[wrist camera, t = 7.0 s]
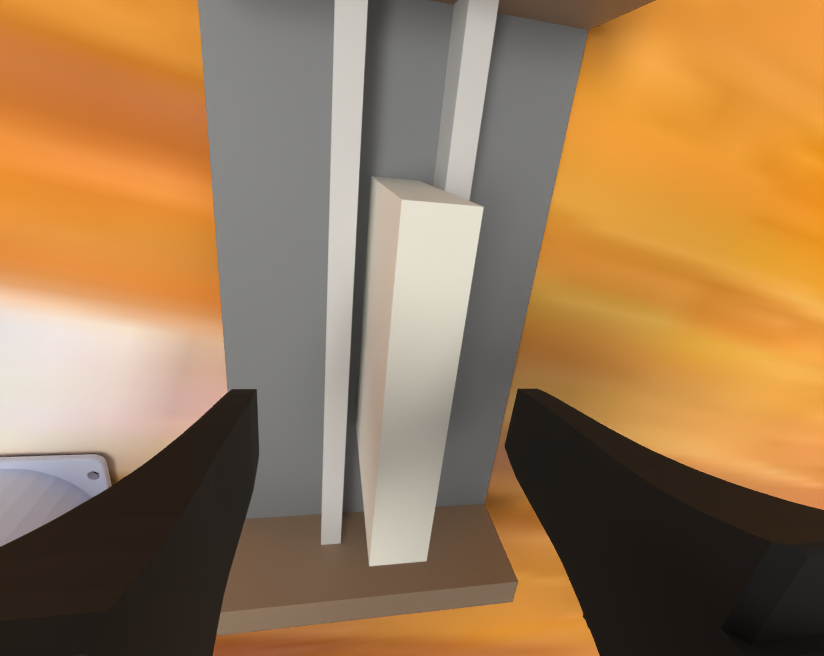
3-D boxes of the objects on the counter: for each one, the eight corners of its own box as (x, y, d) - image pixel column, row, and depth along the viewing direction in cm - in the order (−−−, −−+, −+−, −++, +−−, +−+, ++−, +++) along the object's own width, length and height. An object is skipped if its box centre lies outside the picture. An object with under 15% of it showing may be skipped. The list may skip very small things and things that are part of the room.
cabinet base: (475, 509, 27) (512, 602, 21) (242, 524, 24) (216, 635, 19) (584, -10, 17) (707, -85, 11) (199, -89, 14) (113, -241, 8)
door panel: (394, 423, 22) (426, 561, 15) (355, 424, 21) (369, 566, 14) (419, 180, 17) (483, 206, 10) (371, 175, 17) (401, 199, 10)
